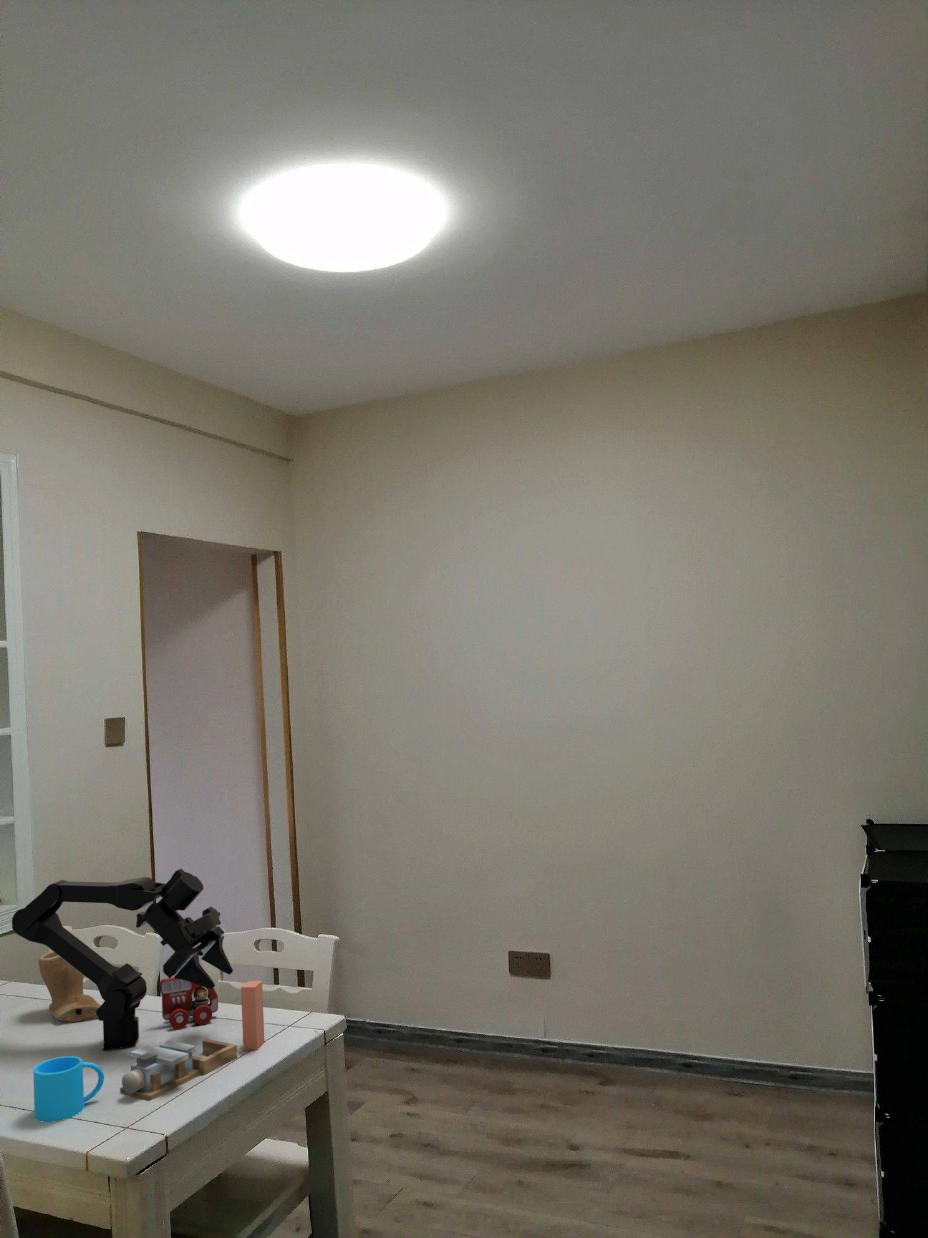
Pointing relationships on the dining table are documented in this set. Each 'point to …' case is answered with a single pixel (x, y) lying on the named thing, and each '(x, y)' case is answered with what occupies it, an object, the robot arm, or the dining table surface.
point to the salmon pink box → (252, 1015)
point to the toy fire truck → (186, 1002)
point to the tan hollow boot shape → (66, 989)
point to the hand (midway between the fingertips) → (222, 980)
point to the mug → (61, 1088)
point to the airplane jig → (172, 1066)
